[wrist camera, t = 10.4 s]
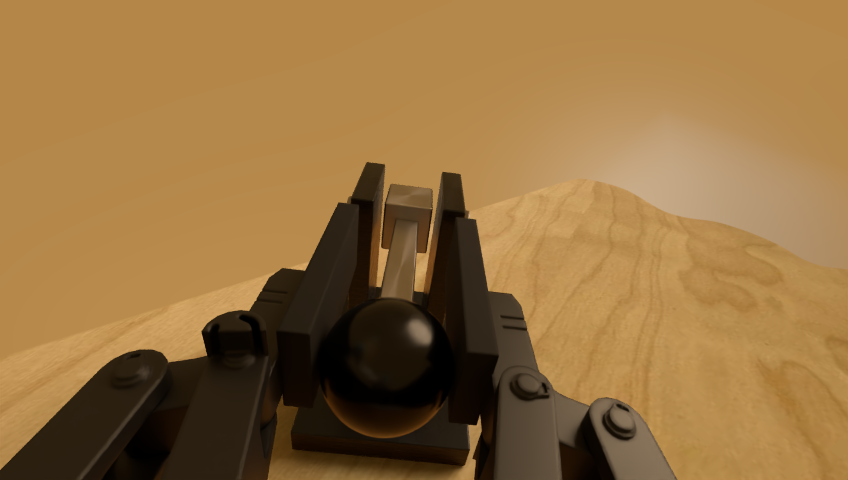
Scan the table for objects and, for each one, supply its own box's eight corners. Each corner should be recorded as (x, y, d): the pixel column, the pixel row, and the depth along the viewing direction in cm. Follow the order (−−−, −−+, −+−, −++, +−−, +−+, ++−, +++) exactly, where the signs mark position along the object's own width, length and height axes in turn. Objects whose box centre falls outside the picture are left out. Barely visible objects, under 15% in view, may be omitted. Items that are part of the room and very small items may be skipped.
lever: (445, 476, 10) (470, 371, 8) (302, 463, 10) (299, 354, 8) (437, 240, 22) (447, 178, 20) (373, 233, 21) (377, 170, 20)
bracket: (465, 466, 20) (529, 269, 14) (291, 449, 20) (270, 239, 13) (455, 310, 31) (489, 154, 24) (340, 297, 30) (342, 135, 23)
